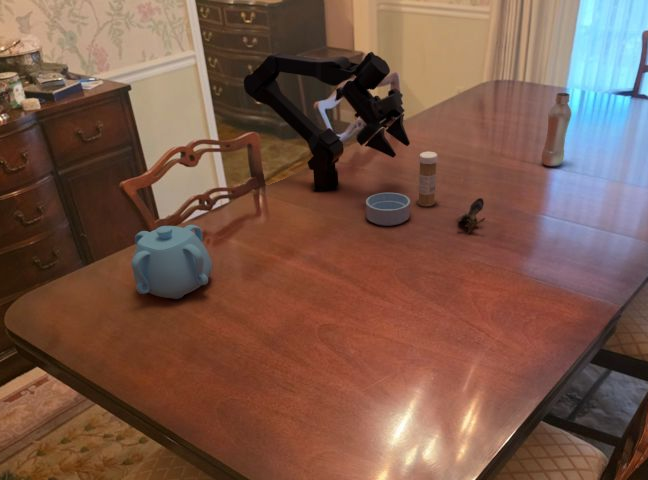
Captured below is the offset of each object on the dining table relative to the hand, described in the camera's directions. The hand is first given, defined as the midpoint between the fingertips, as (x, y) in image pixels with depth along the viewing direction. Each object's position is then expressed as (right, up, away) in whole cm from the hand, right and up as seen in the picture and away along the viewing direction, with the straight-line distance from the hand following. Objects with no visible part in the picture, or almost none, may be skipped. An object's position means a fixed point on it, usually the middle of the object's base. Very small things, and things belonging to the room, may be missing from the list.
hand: (401, 150), depth 160 cm
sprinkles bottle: (+7, -13, +6) cm, 15 cm away
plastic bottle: (+47, +4, +25) cm, 53 cm away
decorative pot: (-51, -38, -25) cm, 69 cm away
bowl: (-4, -18, -1) cm, 18 cm away
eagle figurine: (+17, -21, -6) cm, 28 cm away
